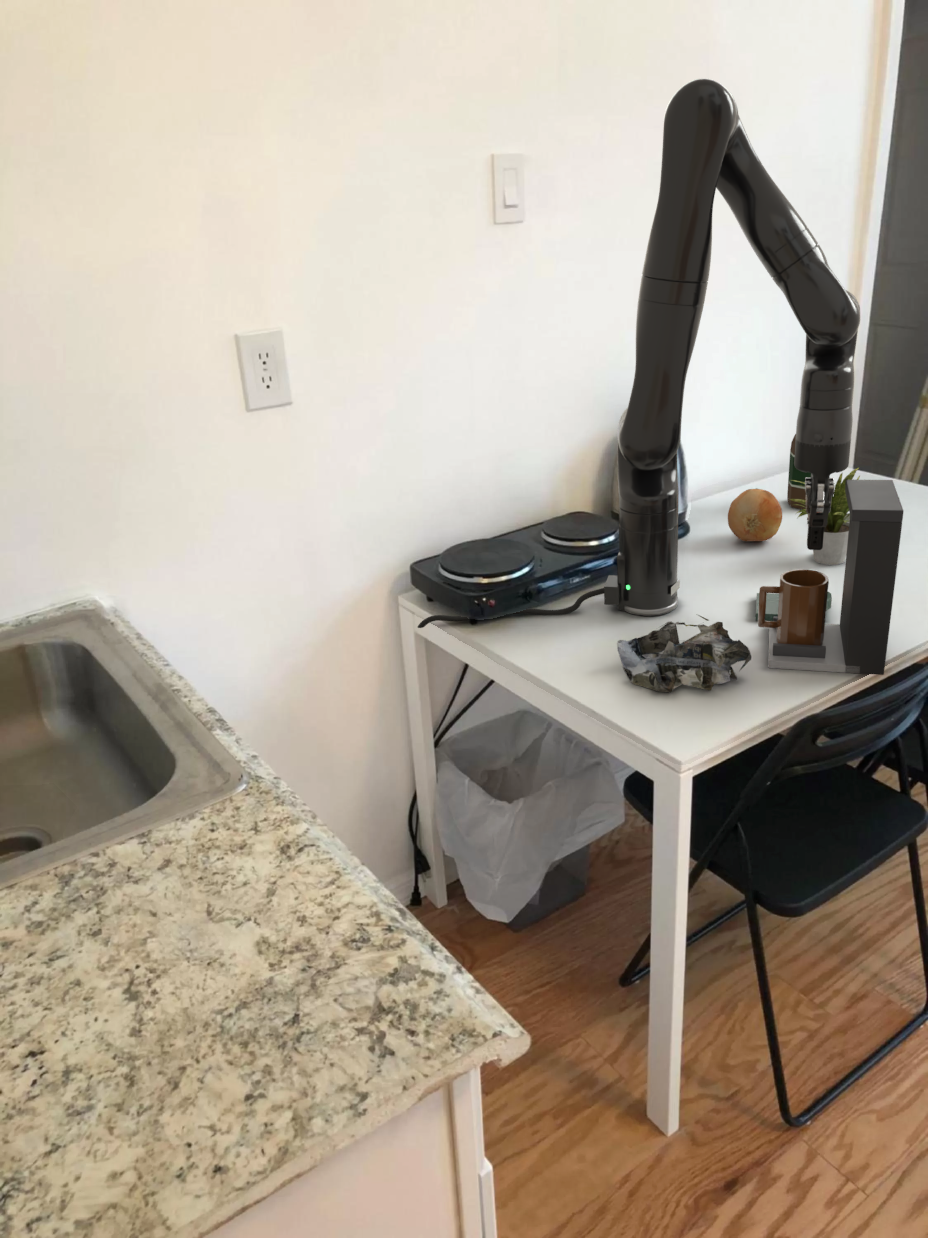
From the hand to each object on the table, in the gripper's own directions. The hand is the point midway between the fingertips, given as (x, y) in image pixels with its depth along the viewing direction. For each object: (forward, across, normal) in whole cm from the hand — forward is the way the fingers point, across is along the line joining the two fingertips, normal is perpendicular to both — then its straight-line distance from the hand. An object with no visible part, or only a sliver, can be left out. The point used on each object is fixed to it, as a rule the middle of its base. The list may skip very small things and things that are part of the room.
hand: (814, 547), depth 142 cm
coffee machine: (+11, -13, -1) cm, 17 cm away
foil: (+11, -24, +18) cm, 32 cm away
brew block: (+11, 0, +3) cm, 11 cm away
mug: (+10, -13, +3) cm, 16 cm away
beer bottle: (+11, +53, -1) cm, 54 cm away
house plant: (+11, +24, -4) cm, 27 cm away
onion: (+11, +31, +9) cm, 34 cm away
